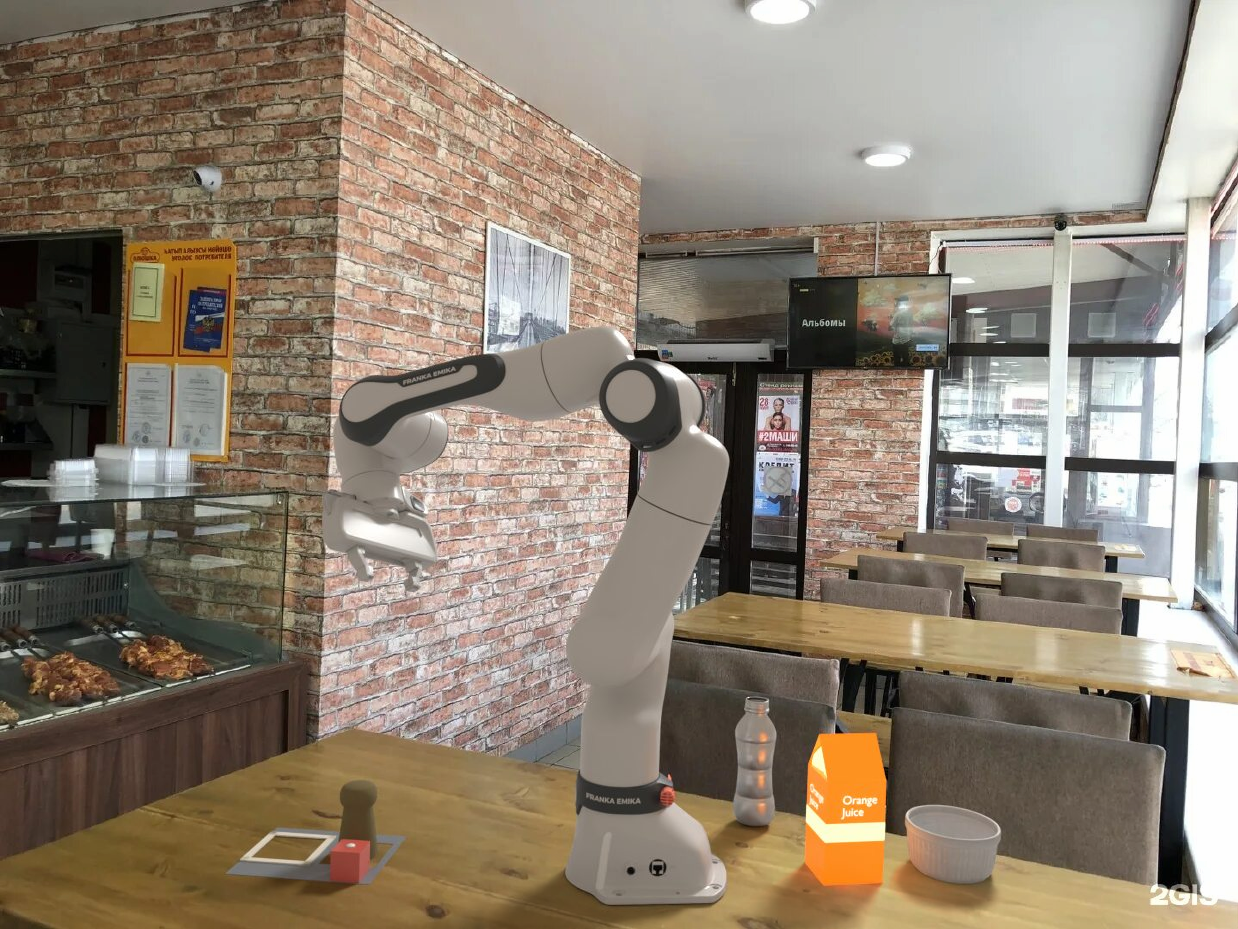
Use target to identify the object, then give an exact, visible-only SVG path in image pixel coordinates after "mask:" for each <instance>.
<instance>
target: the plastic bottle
mask: <svg viewBox="0 0 1238 929" xmlns="http://www.w3.org/2000/svg"><path fill="white" fill-rule="evenodd" d="M744 701H745V704H744V707H743V709H744V712H745V714H744V715H743V716H742V717H741V719H739V721H738V723H737V724H736V728H735V730H734V732H735V733H734V734H735V736H734V737H735V744H736V751H737V764H738V765H737V779H736V787H735V793H734V797H733V803H732V810H733V815H734V817H735V818H736V821H738V822H739V823H740V824H742V825H744V826H745V825H746V826H749V827H750V826H751V827H763V826H768V825H769V824H770V823H771V822H772V821H773V820H774V816H775V812H776V806H775V798H774V797H775V796H774V794H773V775H772V774H773V764H774V763H773V762H774V761H773V760H774V753H775V746H776V742H777V741H776V740H777V731H776V728H775V725H774V723H773V722H772V720H771V719H770V717H769V716H768V714H769V713H770V707H769V706H770V700H769V698H767V697H761V696H748V697H746V698H745V700H744Z"/></svg>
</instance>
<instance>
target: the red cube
mask: <svg viewBox="0 0 1238 929" xmlns="http://www.w3.org/2000/svg"><path fill="white" fill-rule="evenodd" d="M329 858H330V881H341V882H354V883H359V882H360V881H361V880H362V879H363V877H364V876H365V875H366V874H367V872H368V871H369V868H370V867H371V866H370V865H371V864H370V862H371V861H370V841H363V840H349V839H341V841H340V842H339V843H338V844H337V845H336V846H335V847H334V848H333V849H332V850H331V851H330V857H329Z"/></svg>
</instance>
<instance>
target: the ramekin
mask: <svg viewBox="0 0 1238 929" xmlns="http://www.w3.org/2000/svg"><path fill="white" fill-rule="evenodd" d="M904 817H905V818H904V825H905V827H906V839H907V840H906V841H907V851H908V852H907V853H908V857H909V860H910V862H911V864H912V865H913V866H914V868H915V869H916V870H918V871H919V872H920V873H922V874H924V875H925V876H928V877H929V878H932V879H935V880H937V881H941V882H944V883H945V882H946V883H951V884H957V885H967V884H968V885H971V884H978V883H981V882H983V881H985V880H987V878H989V877H990V876H991V875H992V873H993V870H994V868H995V863H996V858H997V853H998V847H999V843H1000V842H1001V838H1002V829H1001V827H1000V826H999V824H998V823H997V822H996V821H994V820H993V819H992V818H990V817H988V816H986V815H984V814H982V813H979V812H976V811H974V810H970V809H967V808H962V807H957V806H952V805H943V804H942V805H941V804H926V805H925V804H924V805H920V806H914V807H911V808H910V809H909V810H907V812H906V813H905V816H904Z"/></svg>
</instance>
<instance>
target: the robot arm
mask: <svg viewBox="0 0 1238 929" xmlns="http://www.w3.org/2000/svg"><path fill="white" fill-rule="evenodd" d="M462 405H464V406H474V407H475V406H476V407H480V408H481V407H482V408H485V409H489V410H492V411H495V412H499V413H502V414H504V415H507V416H510V417H512V418H515V419H517V420H521V421H524V422H529V423H535V422H536V423H537V422H538V423H539V422H543V421H550V420H555V419H559V418H562V417H564V416H568V415H570V414H574V413H576V412H579V411H581V410H585V409H586V408H590V407H594V406H598V405H599V408H600V410H601V414H602V415H603V417H604V419H605V420H606V422H607V423H608V424H609V425H610V427H611V428H613V430H614V431H616V432H617V434H619V435H620V436H621V437H622V438H624V439H626V441H628V442H629V443H630V444H631V445H632V446H633V447H634V448H635V449H636V450H638V451H639V452H640V453H647V458H648V461H647V467H646V471H645V475H644V478H643V480H642V481H641V485H640V487H639V489H638V492H637V494H636V496H635V499H634V501H633V505H632V506H631V509H630V511H629V514H628V517H627V518H626V520H625V524H624V527H623V530H622V532H621V534H620V537H619V538H618V541H617V543H616V545H615V548H614V550H613V552H612V554H611V556H610V557H609V559H608V561H607V563H606V564H605V567H603V570H602V572H601V573H600V575H599V577H598V579H597V580H596V583H595V584H594V586H593V588H592V590H591V592H590V594H589V595H588V597H587V600H586V602H585V604H584V605H583V608H582V609H581V611H580V614H579V615H578V617H577V618H576V621H575V622H574V624H573V625H572V627H571V629H570V631H569V632H568V635H567V638H566V644H565V653H566V659H567V660H566V661H568V665H569V667H570V669H571V670H572V672H573V673H574V675H576V676H577V677H578V678H579V679H580V680H581V681H583V682H584V683H586V684H588V685H589V691H588V695H587V698H586V699H587V700H586V703H585V705H584V708H583V710H582V714H581V722H580V723H581V726H580V755H579V756H580V759H579V762H580V764H579V765H580V766H579V770H578V772H577V774H576V778H575V779H576V780H575V785H574V786H575V790H574V793H575V794H574V806H575V813H576V822H575V828H574V835H573V841H572V846H571V850H570V855H569V858H568V861H567V863H566V866H565V869H564V873H565V877H566V879H567V880H568V881H569V883H571V884H572V885H573V886H574V887H576V888H577V889H578V888H579V889H580V890H582V891H585V892H586V893H589V894H590V895H593V896H594V897H595V898H596V899H597V900H598V901H599V902H601V903H603V904H604V905H610V906H611V905H612V906H613V905H617V906H618V905H621V906H622V905H664V904H665V905H668V904H670V905H672V904H675V905H677V904H709V903H710V904H712V903H715V902H717V901H718V900H719V899H721V898H722V897H723V895H724V894H725V892H726V891H727V886H728V883H727V882H728V879H727V878H728V877H727V876H728V875H727V870H726V869H727V868H726V867H725V864H724V863H723V861H722V860H721V859H720V858H719V857H718V856H716V855H715V854H713V853H712V849H711V844H710V841H709V837H708V835H707V834H708V833H707V831H706V830H705V828H704V826H703V825H702V824H701V822H699V821H698V820H697V819H695V818H694V817H692V816H691V815H690V814H689V813H688V812H686V811H685V810H684V809H682V808H681V807H680V806H679V805H678V804H676V802H675V800H676V792H675V790H674V782H673V781H672V777H671V775H670V774H668V775H667V776H665V775H664V774H663V773H662V772H660V771H659V770H660V750H661V748H660V745H661V724H662V712H663V705H664V700H665V694H666V688H667V682H668V674H669V667H670V660H671V650H672V649H671V648H672V642H673V638H674V637H673V636H674V632H675V619H674V618H675V617H674V614H673V612H672V611H673V609H674V608H675V606H676V603H677V602H678V600H679V598H680V596H681V594H682V592H683V591H684V589H685V587H686V585H687V584H688V582H689V581H690V579H691V577H692V574H693V572H694V570H695V568H696V565H697V563H698V559H699V557H700V555H701V552H702V550H703V548H704V546H705V543H706V540H707V539H708V538H707V537H708V535H709V533H710V531H711V529H712V525H713V522H714V521H715V518H716V515H717V513H718V510H719V508H720V507H719V506H720V504H721V500H722V498H723V494H724V490H725V486H726V483H727V482H726V481H727V478H728V473H729V467H730V456H729V453H728V450H727V449H726V447H725V446H724V445H723V444H722V442H721V441H719V440H718V439H717V438H716V437H714V436H712V435H711V434H709V433H707V432H704V431H702V430H701V429H700V427H701V425H702V424H703V421H704V419H705V416H706V410H707V401H706V397H705V392H704V391H703V389H702V387H701V386H700V384H699V383H698V382H697V381H696V379H694V378H693V377H692V376H691V375H690V374H687V373H686V372H684V371H681V370H680V369H678V368H677V367H675V366H674V365H672V364H669V363H666V362H662V361H657V360H654V359H650V358H644V357H638V358H636V357H635V354H634V352H633V349H632V346H631V344H630V343H629V341H628V340H627V338H626V336H624V335H623V334H622V333H621V331H619V330H618V329H616V328H615V327H612V326H608V325H600V326H593V327H587V328H583V329H578V330H574V331H571V332H567V333H563V334H561V335H560V334H559V335H557V336H554V337H550V338H548V339H547V340H543V341H541V342H538V343H535V344H532V345H528V346H524V347H521V348H517V349H512V350H508V351H507V350H506V351H500V352H493V353H481V354H474V355H473V354H472V355H468V356H465V357H460V358H459V357H458V358H457V359H452V360H447V361H443V362H440V363H438V364H433V365H430V366H427V367H422V368H420V369H419V368H418V369H416V370H411V371H408V372H404V373H400V374H395V375H384V374H383V375H382V374H372V375H368V376H365V377H362V378H361V379H359V380H357V381H356V382H354V383H353V384H352V385H350V386H349V388H348V389H346V391H345V392H344V394H343V396H342V398H341V400H340V403H339V407H338V408H339V409H338V415H337V417H336V419H335V422H334V426H333V432H332V439H333V440H332V441H333V442H332V443H333V451H334V452H333V453H334V458H335V463H336V468H337V470H338V472H339V474H340V476H341V483H340V491H339V490H337V489H334V488H331V489H328V490H326V491H324V492H323V494H322V495H321V502H322V508H323V509H322V513H321V514H322V515H321V518H322V519H321V521H322V522H321V524H322V527H321V528H322V539H323V542H324V544H325V545H326V547H327V548H328V550H331V551H335V552H340V553H344V554H346V556H347V560H348V562H350V564H351V566H352V568H353V569H354V570H355V571H356V576H357V580H358V581H359V582H364V583H369V582H370V581H373V579H374V578H375V574H374V568H373V566H370V565H369V563H368V562H367V560H366V559H368V560H372V561H375V562H379V563H384V564H388V565H392V566H395V567H401V568H404V569H405V573H406V574H408V577H407V579H405V580H404V581H403V585H404V590H405V591H406V592H408V593H409V592H410V593H416V592H418V591H419V590H420V589H421V582H420V577H421V574H422V572H423V571H425V570H427V569H429V568H431V567H433V566H434V565H435V564H436V562H437V561H438V557H439V556H438V555H439V554H438V548H437V545H436V544H437V542H436V539H435V535H434V531H433V528H432V526H431V523H430V522H429V521H428V519H426V518H427V517H428V516H429V514H430V512H429V509H428V508H429V507H428V505H427V504H425V502H424V501H422V500H420V499H419V498H418V497H416V496H415V495H413V493H411V492H410V491H409V490H408V488H406V487H405V486H403V485H402V483H401V478H400V475H401V474H409V473H412V472H414V471H417V470H420V469H422V468H425V467H427V466H430V465H431V464H433V463H435V462H436V461H437V460H438V459H439V458H440V457H441V456H442V455H443V453H444V452H445V450H446V447H447V444H448V441H449V434H450V433H449V425H448V423H447V420H446V418H445V417H444V416H443V415H442V414H441V413H439V412H438V410H439V411H440V410H442V409H446V408H450V407H455V406H462Z"/></svg>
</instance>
